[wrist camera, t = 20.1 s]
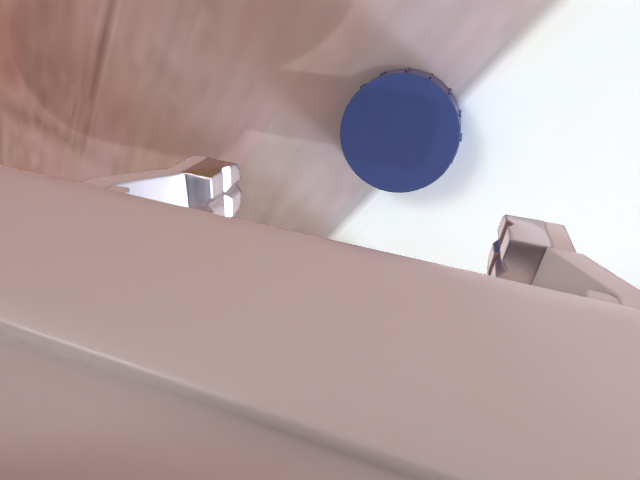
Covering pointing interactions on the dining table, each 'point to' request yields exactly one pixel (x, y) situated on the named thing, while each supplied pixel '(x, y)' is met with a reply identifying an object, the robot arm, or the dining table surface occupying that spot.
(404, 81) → the lid
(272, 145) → the dining table surface
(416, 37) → the dining table surface
